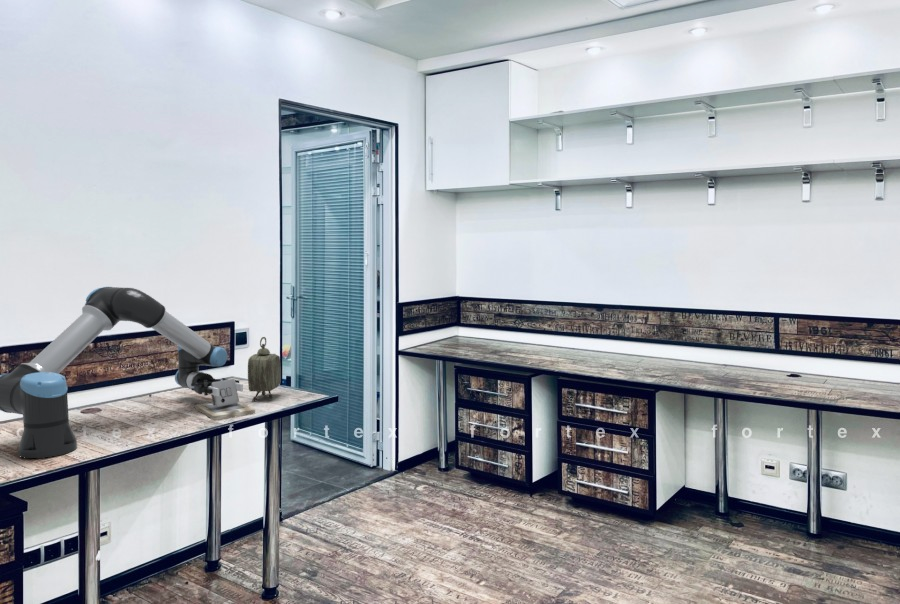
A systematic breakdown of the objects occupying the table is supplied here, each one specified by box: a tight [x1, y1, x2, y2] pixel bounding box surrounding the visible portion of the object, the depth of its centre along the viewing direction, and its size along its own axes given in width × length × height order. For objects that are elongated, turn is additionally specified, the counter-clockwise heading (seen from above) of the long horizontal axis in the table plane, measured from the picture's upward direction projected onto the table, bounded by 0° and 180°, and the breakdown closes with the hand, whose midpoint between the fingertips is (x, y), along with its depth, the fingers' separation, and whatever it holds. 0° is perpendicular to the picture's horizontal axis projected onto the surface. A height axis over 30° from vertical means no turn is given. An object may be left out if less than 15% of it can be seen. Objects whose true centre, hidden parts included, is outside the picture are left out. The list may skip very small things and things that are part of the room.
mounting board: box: [194, 400, 256, 421], centre depth 243 cm, size 15×22×2 cm
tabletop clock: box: [247, 336, 282, 402], centre depth 262 cm, size 14×9×25 cm, turn 178°
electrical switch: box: [210, 378, 240, 407], centre depth 242 cm, size 9×5×9 cm, turn 141°
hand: (230, 390), depth 239 cm, fingers closed on electrical switch, 9 cm apart
